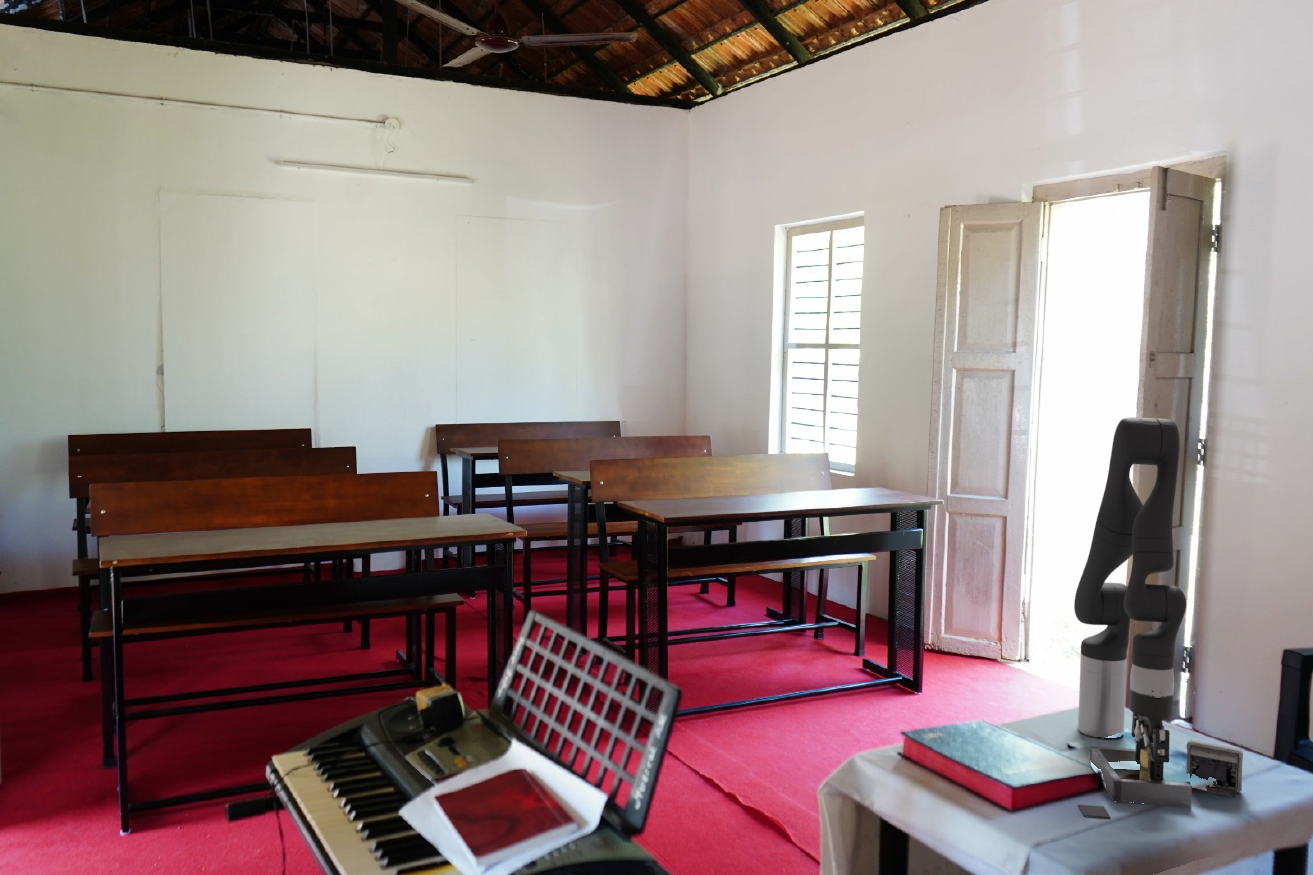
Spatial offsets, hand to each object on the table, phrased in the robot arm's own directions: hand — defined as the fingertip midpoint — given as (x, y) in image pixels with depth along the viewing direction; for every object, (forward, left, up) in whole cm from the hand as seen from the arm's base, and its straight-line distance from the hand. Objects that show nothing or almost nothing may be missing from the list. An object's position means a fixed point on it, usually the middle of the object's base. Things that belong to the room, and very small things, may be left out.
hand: (1148, 772), depth 192 cm
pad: (+14, -13, -3) cm, 19 cm away
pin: (0, 0, -3) cm, 3 cm away
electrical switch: (0, +12, -3) cm, 12 cm away
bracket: (0, -1, -3) cm, 3 cm away
